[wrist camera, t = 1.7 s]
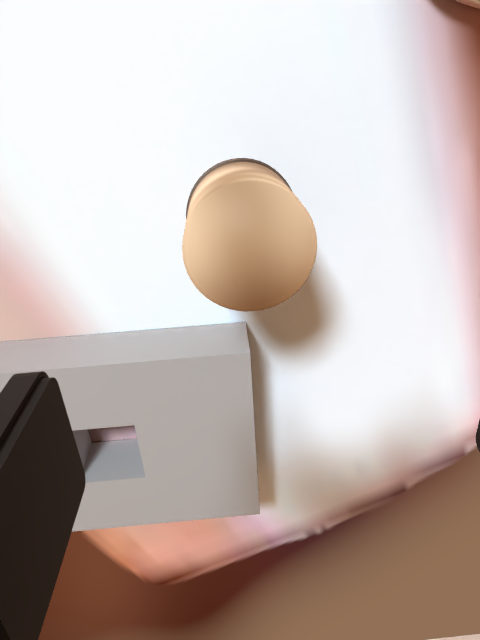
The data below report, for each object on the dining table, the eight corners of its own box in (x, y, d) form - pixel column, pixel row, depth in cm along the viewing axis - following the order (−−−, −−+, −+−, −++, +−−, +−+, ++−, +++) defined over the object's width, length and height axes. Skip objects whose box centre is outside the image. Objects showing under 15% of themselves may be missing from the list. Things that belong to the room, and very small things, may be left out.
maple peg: (285, 147, 25) (320, 173, 17) (287, 245, 28) (318, 307, 20) (183, 154, 25) (171, 184, 17) (194, 252, 28) (188, 318, 20)
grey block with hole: (245, 321, 30) (250, 352, 27) (254, 472, 37) (259, 513, 33) (-55, 346, 30) (-91, 381, 26) (8, 495, 36) (-14, 539, 33)
